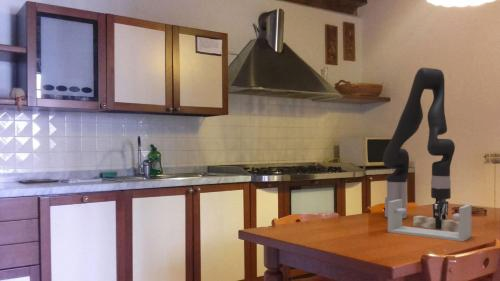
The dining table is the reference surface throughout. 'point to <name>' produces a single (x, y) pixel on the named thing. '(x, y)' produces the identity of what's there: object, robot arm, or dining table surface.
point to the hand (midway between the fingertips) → (440, 227)
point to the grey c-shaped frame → (396, 227)
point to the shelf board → (430, 223)
